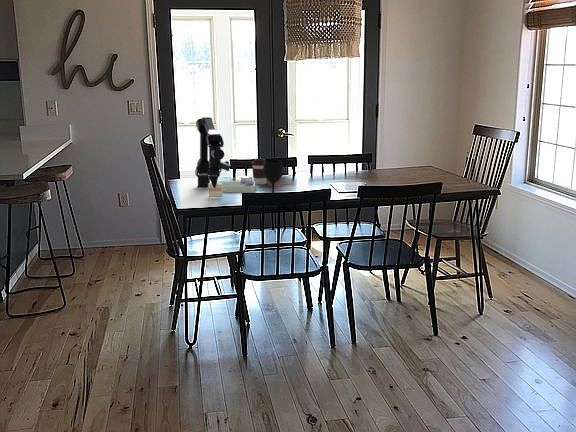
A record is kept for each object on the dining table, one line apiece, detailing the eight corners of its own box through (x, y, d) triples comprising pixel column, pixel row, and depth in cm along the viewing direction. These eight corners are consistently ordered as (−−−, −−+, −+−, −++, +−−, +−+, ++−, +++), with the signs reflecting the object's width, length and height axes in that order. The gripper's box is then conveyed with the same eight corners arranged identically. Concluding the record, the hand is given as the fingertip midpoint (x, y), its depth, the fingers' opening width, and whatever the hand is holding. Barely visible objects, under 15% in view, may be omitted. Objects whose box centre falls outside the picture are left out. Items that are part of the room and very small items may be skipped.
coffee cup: (253, 186, 364) (253, 160, 360) (250, 183, 373) (249, 158, 370) (270, 185, 367) (270, 160, 363) (266, 182, 376) (266, 157, 372)
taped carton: (208, 197, 332) (208, 184, 331) (209, 195, 337) (209, 182, 336) (221, 197, 333) (221, 184, 331) (222, 195, 337) (222, 182, 336)
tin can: (240, 190, 348) (240, 178, 346) (240, 188, 354) (240, 176, 352) (252, 190, 348) (252, 178, 346) (252, 188, 354) (252, 176, 353)
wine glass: (282, 196, 337) (282, 159, 332) (283, 200, 326) (283, 162, 322) (263, 196, 336) (263, 159, 332) (263, 200, 326) (263, 162, 321)
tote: (216, 193, 343) (216, 186, 342) (218, 187, 358) (218, 181, 357) (254, 193, 344) (254, 186, 343) (254, 187, 359) (254, 181, 358)
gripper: (228, 159, 321) (229, 189, 325) (230, 154, 339) (231, 182, 343) (207, 159, 321) (208, 189, 324) (210, 154, 339) (210, 182, 343)
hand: (215, 186), depth 334 cm, fingers open, 9 cm apart
